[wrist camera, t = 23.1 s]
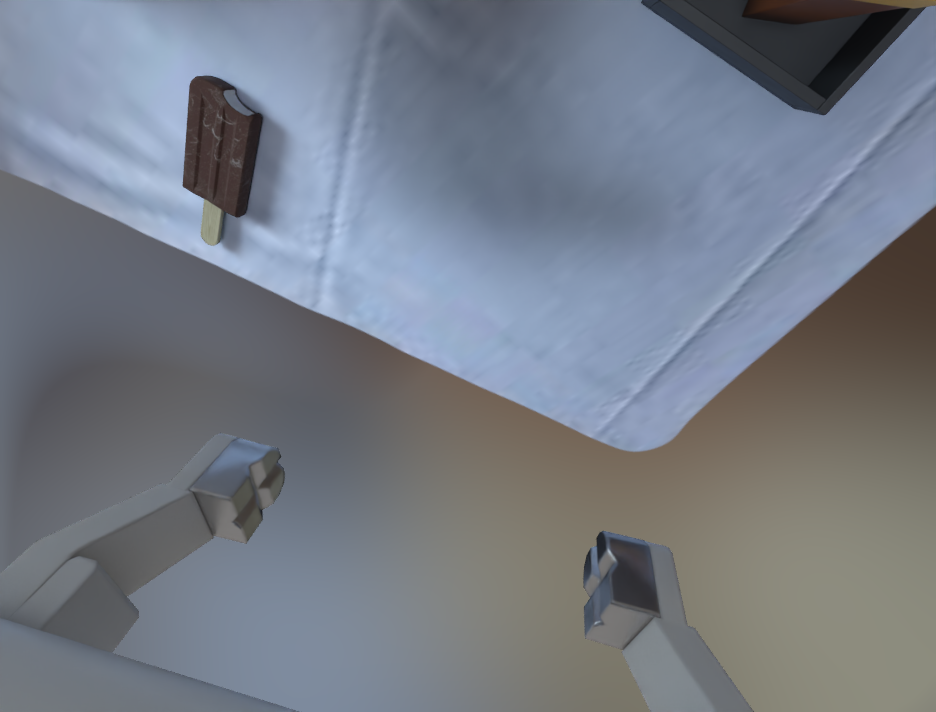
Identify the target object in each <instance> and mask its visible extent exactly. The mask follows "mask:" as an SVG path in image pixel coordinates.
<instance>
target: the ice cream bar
mask: <svg viewBox="0 0 936 712" xmlns="http://www.w3.org/2000/svg"><path fill="white" fill-rule="evenodd" d="M261 123H262V117H261V115H260V114H259V113H255V112H254V111H252V110H250V109H249V108H247V107H246V106H245V105H243V104H242V103H241V101H240V100H239V99H238V97H237V95H236V89H235V88H234V87H232V86H231V85H229V84H227V83H226V82H224V81H222V80H220V79H219V78H215V77H212V76H197V77H195V78H194V79H193V80H192V81H191V83H190V89H189V103H188V118H187V132H186V146H185V161H184V175H183V187H184V188H186V189H188V190H189V191H191V192H192V193H194V194H196V195H198V196H200V197H202V198H204V207H203V216H202V225H201V237H202V239H203V240H204V241H205V243H207V244H208V245H211V246H214V245H216V244H218V243H219V242H220V237H221V230H222V223H223V216H224V211H225V212H226V213H228V214H230V215H232V216H235V217H237V218H238V217H240V216H242V215H245V213H246V207H247V202H248V196H249V190H250V185H251V179H252V173H253V168H254V162H255V156H256V151H257V145H258V139H259V134H260V128H261Z"/></svg>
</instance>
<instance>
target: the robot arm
mask: <svg viewBox="0 0 936 712" xmlns="http://www.w3.org/2000/svg"><path fill="white" fill-rule="evenodd" d="M280 458H281V455H280V452H279V449H278V448H276V447H272V446H268V445H264V444H260V443H257V442H252V441H249V440H245V439H241V438H239V437H235V436H231V435H227V434H223V433H219V434H217V435H215V436H213V437H212V438H211V439H210V440H209V441H208V442H207V443H206V444H205V445H204V446H203V447H202V448H201V449H200V450H199V452H197V454H196V455H195V456H194V457H193V458H192V459H191V460H190V461H189V462H188V463H187V464H186V465H185V466H184V467H183V468H182V469H181V470H180V471H179V472H178V473H177V474H176V476H175V477H174V478H173V479H172V480H171V481H170V482H169V483H168V484H167V485H166V484H159V485H157V486H154V487H152V488H150V489H148V490H146V491H144V492H141V493H139V494H137V495H135V496H133V497H130V498H128V499H126V500H124V501H122V502H120V503H117V504H115V505H114V506H111V507H109V508H107V509H105V510H102V511H100V512H98V513H96V514H94V515H92V516H89V517H87V518H85V519H83V520H81V521H78V522H76V523H74V524H72V525H70V526H68V527H66V528H63V529H61V530H59V531H57V532H55V533H53V534H50V535H48V536H46V537H44V538H42V539H40V540H37V541H36V542H35V543H34V544H33V545H32V546H30V547H29V548H28V549H27V550H26V551H25V552H24V553H23V554H21V555H20V556H19V557H18V558H17V559H16V560H15V561H14V562H13V563H11V564H10V565H9V566H8V567H7V568H6V569H5V570H4V571H3V572H1V573H0V712H299V711H296V710H292V709H289V708H286V707H283V706H280V705H277V704H273V703H270V702H267V701H264V700H260V699H257V698H253V697H251V696H248V695H245V694H241V693H238V692H235V691H232V690H229V689H226V688H222V687H219V686H216V685H213V684H209V683H206V682H203V681H200V680H197V679H193V678H190V677H187V676H184V675H181V674H178V673H175V672H171V671H168V670H165V669H162V668H159V667H155V666H152V665H149V664H146V663H143V662H140V661H136V660H133V659H130V658H127V657H124V656H120V655H117V654H114V653H112V652H113V651H114V650H115V648H116V647H117V645H118V644H119V643H120V642H121V640H122V639H123V638H124V636H125V635H126V634H127V632H128V631H129V630H130V628H131V627H132V626H133V624H134V623H135V622H136V620H137V619H138V618H139V611H138V610H137V608H136V607H135V606H134V605H133V603H131V601H130V600H129V599H128V598H127V596H129V595H130V594H132V593H133V592H135V591H136V590H137V589H139V588H141V587H142V586H143V585H145V584H146V583H148V582H149V581H151V580H152V579H154V578H155V577H157V576H158V575H160V574H161V573H163V572H164V571H166V570H167V569H168V568H170V567H171V566H173V565H174V564H176V563H177V562H179V561H180V560H182V559H183V558H185V557H186V556H188V555H189V554H191V553H192V552H193V551H195V550H197V549H198V548H199V547H201V546H202V545H204V544H205V543H207V542H208V541H210V540H211V539H213V536H217V537H221V538H225V539H229V540H233V541H237V542H241V543H245V544H246V543H247V541H248V540H249V539H250V537H251V536H252V534H253V533H254V531H255V530H256V528H257V527H258V526H259V524H260V523H261V521H262V520H263V516H262V510H263V509H265V508H267V507H269V506H270V505H272V504H273V503H274V502H275V500H276V499H277V497H278V496H279V494H280V492H281V489H282V487H283V484H284V478H285V472H284V468H283V467H282V466H281V465H280V464H279V463H278V460H279V459H280ZM584 589H585V590H586V592H587V594H588V595H589V597H590V599H589V600H588V602H587V604H586V605H585V606H584V623H585V639H589V640H592V641H595V642H599V643H602V644H605V645H608V646H611V647H615V648H618V649H621V650H623V651H622V654H623V655H624V658H625V660H626V662H627V664H628V666H629V668H630V670H631V672H632V674H633V676H634V678H635V680H636V683H637V685H638V687H639V689H640V691H641V693H642V695H643V697H644V699H645V701H646V703H647V705H648V707H649V710H650V712H754V711H753V710H752V708H751V707H750V706H749V704H748V703H747V702H746V700H745V699H744V697H743V696H742V694H741V693H740V691H739V690H738V689H737V687H736V686H735V684H734V683H733V682H732V680H731V679H730V678H729V676H728V674H727V673H726V672H725V670H724V669H723V667H722V666H721V665H720V663H719V662H718V660H717V659H716V657H715V656H714V655H713V653H712V652H711V650H710V649H709V648H708V646H707V645H706V643H705V642H704V640H703V639H702V638H701V636H700V635H699V634H698V632H697V631H696V629H695V628H693V627H690V626H688V625H687V621H686V616H685V611H684V606H683V601H682V597H681V592H680V587H679V582H678V578H677V573H676V568H675V563H674V559H673V554H672V552H671V550H670V549H669V548H668V547H666V546H663V545H658V544H654V543H650V542H646V541H644V540H640V539H636V538H632V537H628V536H623V535H619V534H615V533H610V532H606V531H602V532H600V533H599V535H598V536H597V546H595V547H592V548H590V550H589V552H588V554H587V557H586V561H585V566H584Z"/></svg>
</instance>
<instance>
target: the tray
mask: <svg viewBox="0 0 936 712" xmlns="http://www.w3.org/2000/svg"><path fill="white" fill-rule="evenodd" d="M747 2H748V0H642V1H641V3H642V4H643V5H645V6H646V7H648V8H649V9H651V10H652V11H653V12H655V13H656V14H658V15H659V16H661V17H662V18H664V19H665V20H666V21H668V22H669V23H671V24H672V25H674V26H675V27H677V28H678V29H680V30H681V31H682V32H684V33H685V34H687V35H688V36H690V37H691V38H693V39H694V40H695V41H697V42H698V43H700V44H701V45H703V46H704V47H706V48H707V49H709V50H710V51H711V52H713V53H714V54H716V55H717V56H719V57H720V58H722V59H723V60H724V61H726V62H727V63H729V64H730V65H732V66H733V67H735V68H736V69H737V70H739V71H740V72H742V73H743V74H745V75H746V76H748V77H749V78H751V79H752V80H753V81H755V82H756V83H758V84H759V85H761V86H762V87H764V88H765V89H766V90H768V91H769V92H771V93H772V94H774V95H775V96H777V97H778V98H780V99H781V100H782V101H784V102H785V103H787V104H788V105H790V106H791V107H793V108H794V109H798V110H803V111H807V112H812V113H816V114H821V115H826V114H827V113H828V112H829V111H830V109H831V108H832V107H833V106H834V105H835V104H836V103H837V102H838V101H839V100H840V99H841V98H842V97H843V96H844V94H845V93H846V92H847V91H848V90H849V89H850V88H851V87H852V86H853V85H854V84H855V83H856V82H857V81H858V80H859V78H860V77H861V76H862V75H863V74H864V73H865V72H866V71H867V70H868V69H869V68H870V67H871V66H872V65H873V63H874V62H875V61H876V60H877V59H878V58H879V57H880V56H881V55H882V54H883V53H884V52H885V51H886V50H887V49H888V47H889V46H890V45H891V44H892V43H893V42H894V41H895V40H896V39H897V38H898V37H899V36H900V35H901V34H902V32H903V31H904V30H905V29H906V28H907V27H908V26H909V25H910V24H911V23H912V22H913V21H914V20H915V19H916V18H917V16H918V15H919V14H920V13H921V12H922V11H923V10H924V9H925V8H926V7H921V8H915V9H912V8H900V9H894V10H887V11H881V12H875V13H868V14H862V15H855V16H849V17H842V18H836V19H830V20H823V21H817V22H810V23H804V24H798V25H794V24H787V23H780V22H773V21H766V20H759V19H752V18H746V17H742V14H743V12H744V9H745V7H746V5H747Z"/></svg>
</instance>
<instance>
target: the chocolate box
mask: <svg viewBox="0 0 936 712" xmlns="http://www.w3.org/2000/svg"><path fill="white" fill-rule="evenodd" d="M935 5H936V0H748V2H747V5H746V7H745V9H744V12H743V14H742V17H746V18H752V19H759V20H766V21H773V22H780V23H787V24H794V25H798V24H804V23H810V22H817V21H823V20H830V19H836V18H842V17H849V16H855V15H862V14H868V13H875V12H881V11H887V10H894V9H900V8H912V9H915V8H921V7H928V6H935Z"/></svg>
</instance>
